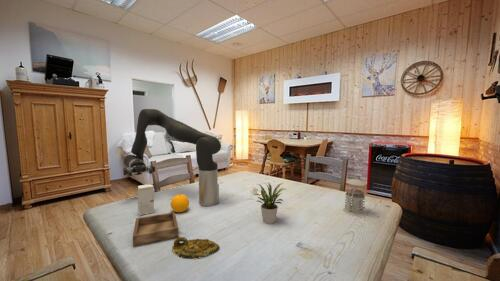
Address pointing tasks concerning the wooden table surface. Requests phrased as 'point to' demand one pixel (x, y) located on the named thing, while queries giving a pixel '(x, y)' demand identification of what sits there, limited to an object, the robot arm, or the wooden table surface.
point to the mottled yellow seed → (193, 247)
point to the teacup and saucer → (255, 191)
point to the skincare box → (145, 199)
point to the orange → (179, 203)
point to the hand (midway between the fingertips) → (141, 173)
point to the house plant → (269, 203)
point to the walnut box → (155, 229)
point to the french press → (355, 198)
